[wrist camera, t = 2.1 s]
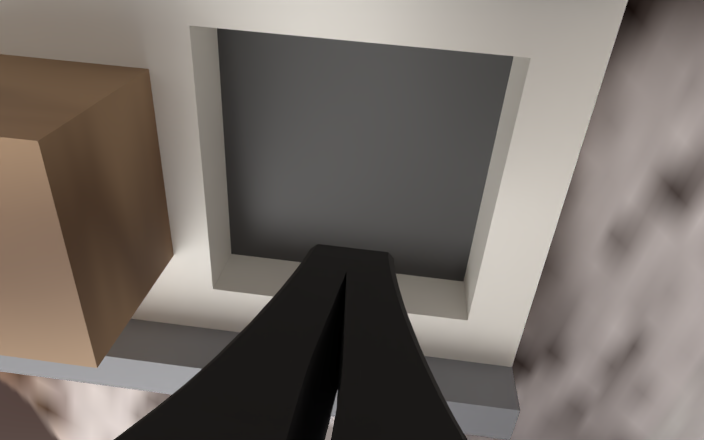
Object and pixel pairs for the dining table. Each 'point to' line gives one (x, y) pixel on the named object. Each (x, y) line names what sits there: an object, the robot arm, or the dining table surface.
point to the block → (76, 206)
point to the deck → (345, 164)
